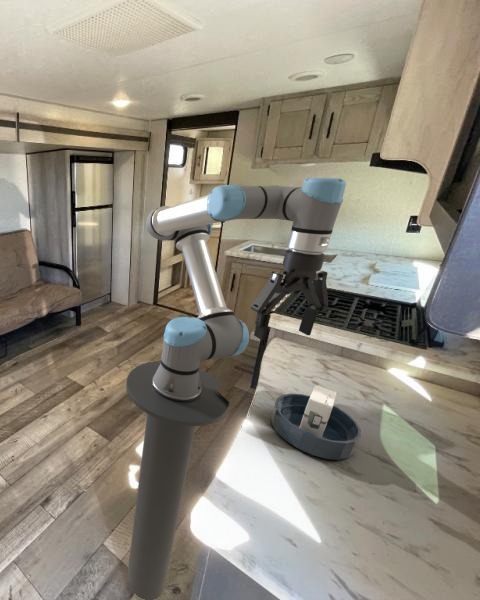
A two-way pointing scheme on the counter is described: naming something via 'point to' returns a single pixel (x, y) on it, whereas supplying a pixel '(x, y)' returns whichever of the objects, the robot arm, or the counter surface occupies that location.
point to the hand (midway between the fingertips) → (282, 335)
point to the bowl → (332, 445)
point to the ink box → (318, 411)
